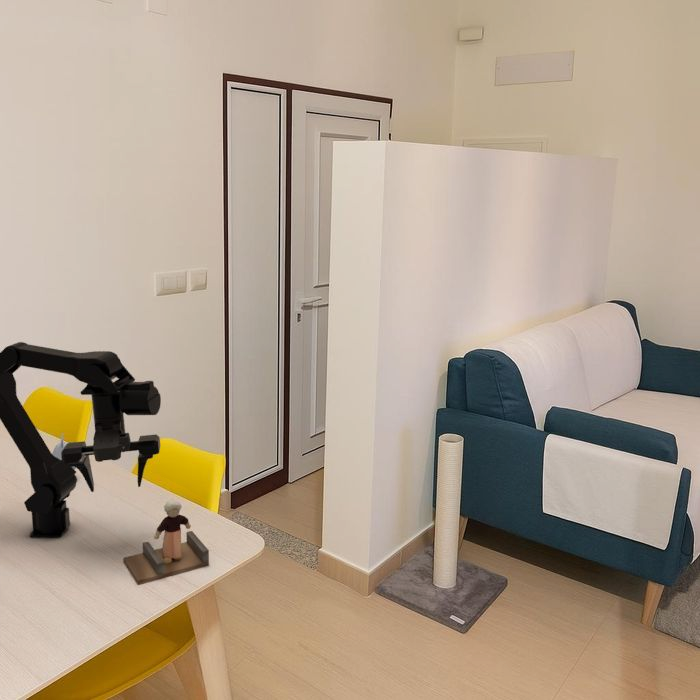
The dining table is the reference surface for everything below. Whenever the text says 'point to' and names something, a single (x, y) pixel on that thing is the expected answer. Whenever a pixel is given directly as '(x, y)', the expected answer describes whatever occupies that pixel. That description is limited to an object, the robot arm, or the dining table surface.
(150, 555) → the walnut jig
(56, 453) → the toy figure
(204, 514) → the dining table surface
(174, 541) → the grandmother figurine
